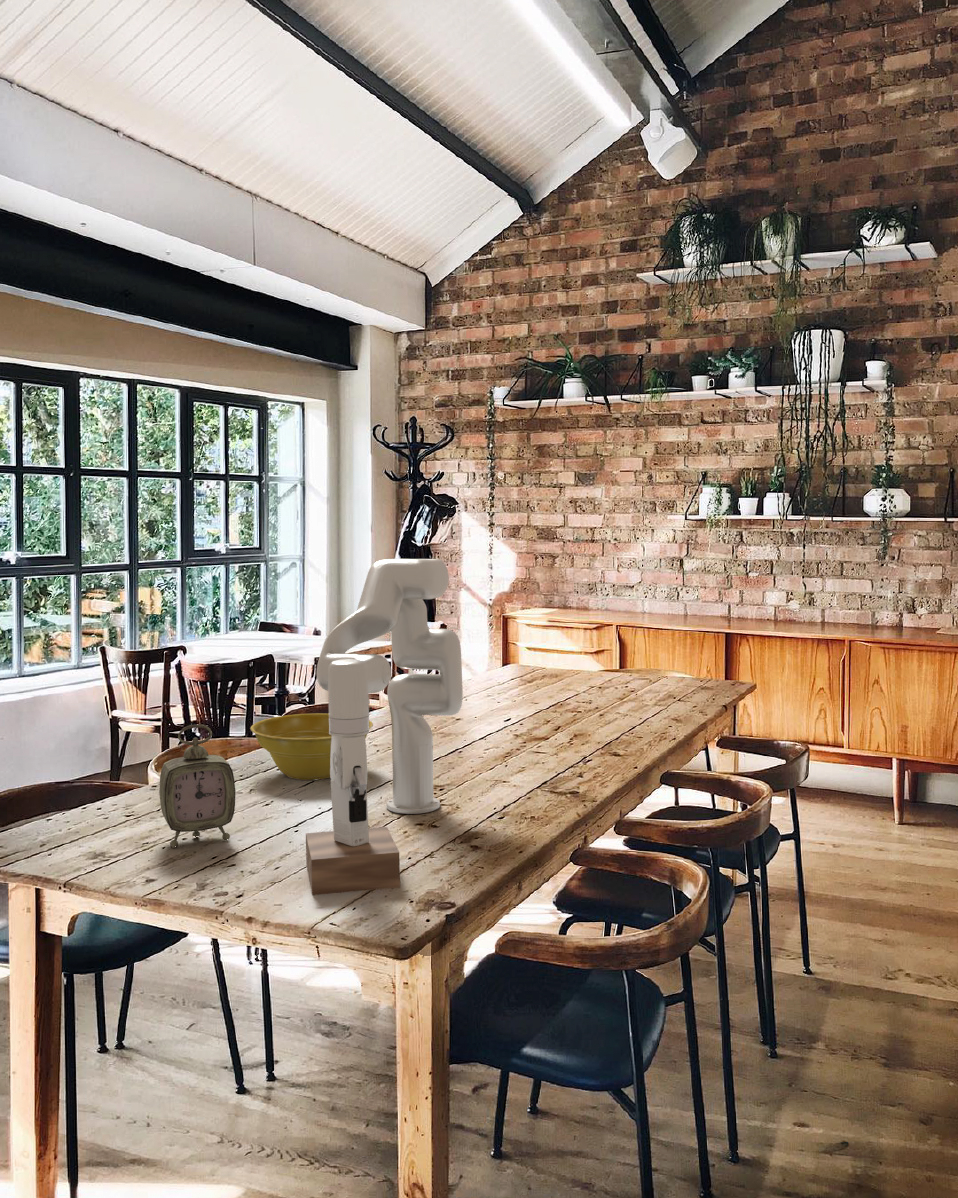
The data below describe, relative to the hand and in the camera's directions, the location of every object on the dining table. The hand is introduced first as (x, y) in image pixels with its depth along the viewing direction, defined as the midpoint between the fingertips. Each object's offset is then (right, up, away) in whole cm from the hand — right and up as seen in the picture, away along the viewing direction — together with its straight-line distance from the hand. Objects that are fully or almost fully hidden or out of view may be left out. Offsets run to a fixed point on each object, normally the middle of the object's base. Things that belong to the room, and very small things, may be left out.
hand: (350, 814), depth 193 cm
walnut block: (0, -12, +1) cm, 12 cm away
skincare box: (0, -6, +1) cm, 6 cm away
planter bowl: (-20, -6, +79) cm, 82 cm away
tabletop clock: (-35, -11, +23) cm, 43 cm away
